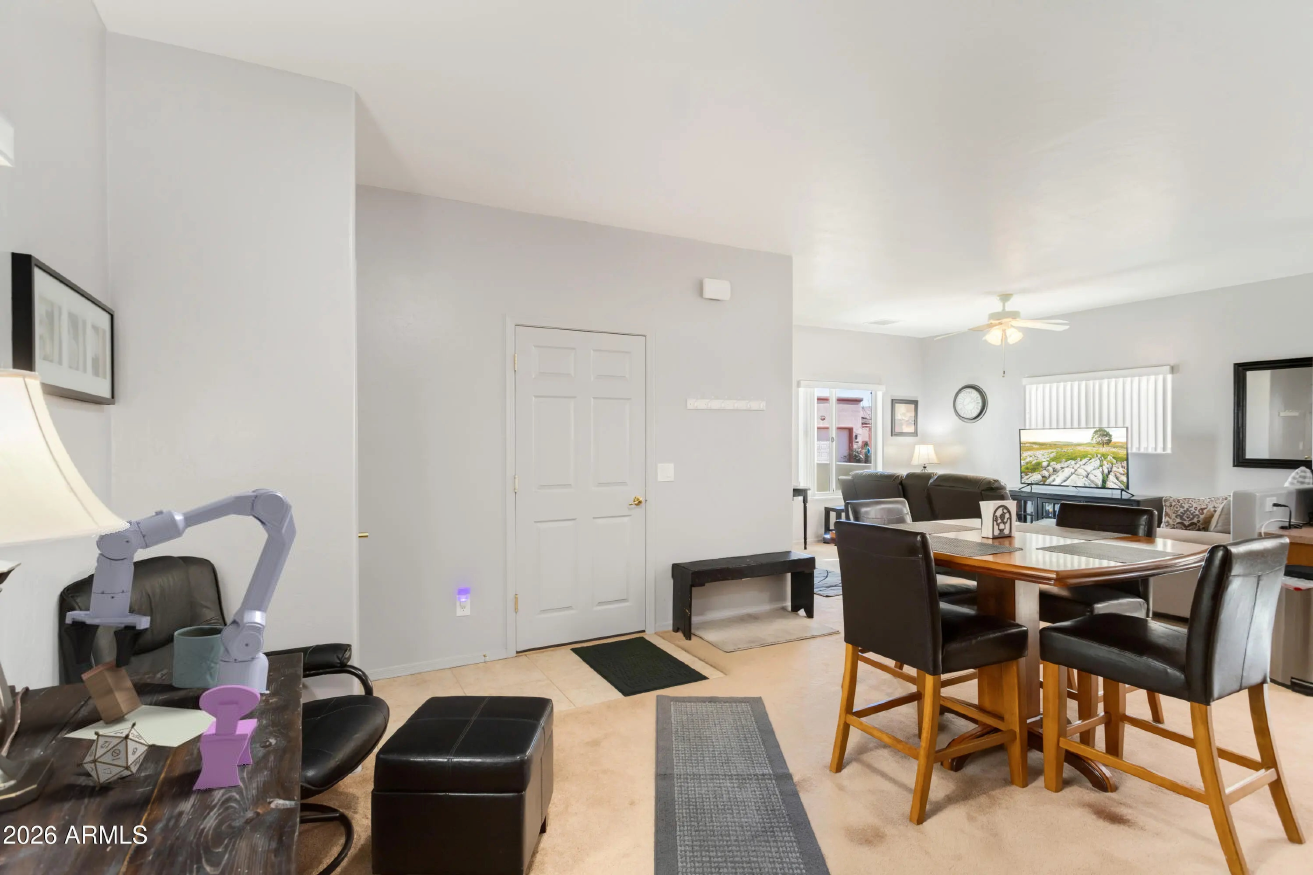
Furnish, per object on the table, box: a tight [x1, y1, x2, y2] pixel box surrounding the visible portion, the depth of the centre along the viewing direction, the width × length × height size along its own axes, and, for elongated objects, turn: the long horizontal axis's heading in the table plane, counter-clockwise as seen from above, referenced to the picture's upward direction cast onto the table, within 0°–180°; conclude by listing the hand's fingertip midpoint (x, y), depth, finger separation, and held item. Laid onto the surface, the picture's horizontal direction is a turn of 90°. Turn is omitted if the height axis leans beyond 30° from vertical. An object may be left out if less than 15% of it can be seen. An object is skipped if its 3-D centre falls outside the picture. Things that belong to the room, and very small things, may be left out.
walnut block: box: [81, 658, 143, 724], centre depth 120 cm, size 4×4×10 cm
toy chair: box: [192, 685, 261, 791], centre depth 105 cm, size 8×9×15 cm
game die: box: [74, 722, 158, 791], centre depth 101 cm, size 9×8×10 cm
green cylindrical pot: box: [171, 625, 226, 689], centre depth 143 cm, size 10×10×12 cm
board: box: [62, 704, 216, 748], centre depth 120 cm, size 16×20×1 cm
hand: (102, 664), depth 122 cm, fingers open, 7 cm apart
